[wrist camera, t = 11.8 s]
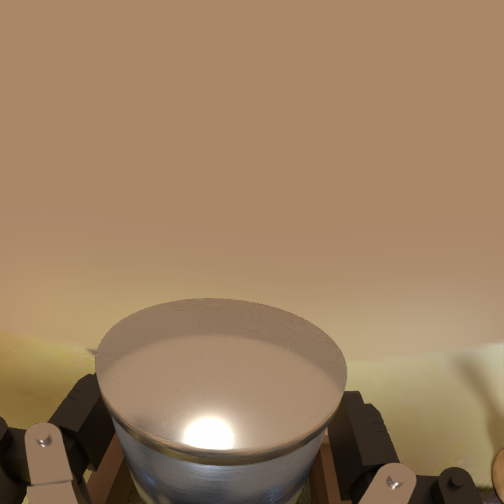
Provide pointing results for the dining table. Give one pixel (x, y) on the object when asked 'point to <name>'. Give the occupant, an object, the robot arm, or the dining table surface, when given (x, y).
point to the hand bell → (499, 475)
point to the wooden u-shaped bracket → (121, 483)
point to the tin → (219, 400)
